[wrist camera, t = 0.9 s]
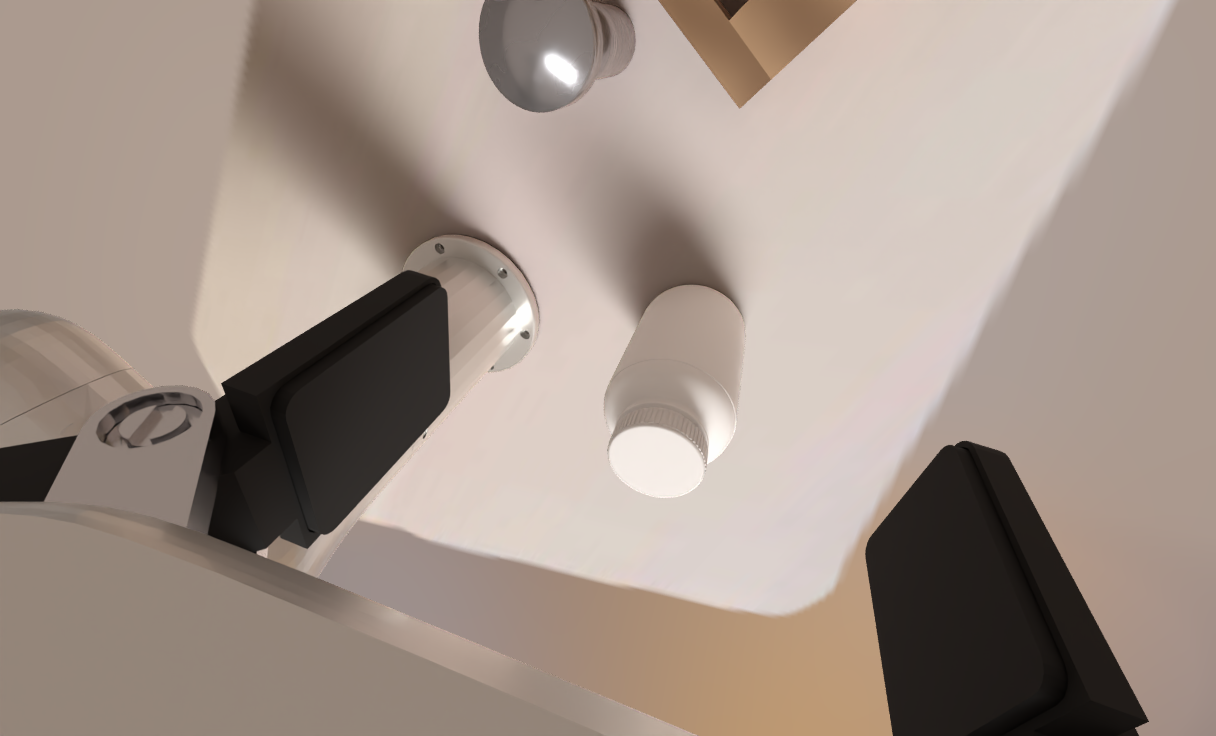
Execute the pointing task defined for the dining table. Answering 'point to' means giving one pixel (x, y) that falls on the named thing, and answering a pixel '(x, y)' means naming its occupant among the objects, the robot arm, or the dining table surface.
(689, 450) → the pill bottle
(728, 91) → the block
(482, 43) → the steel pin
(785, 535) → the dining table surface
